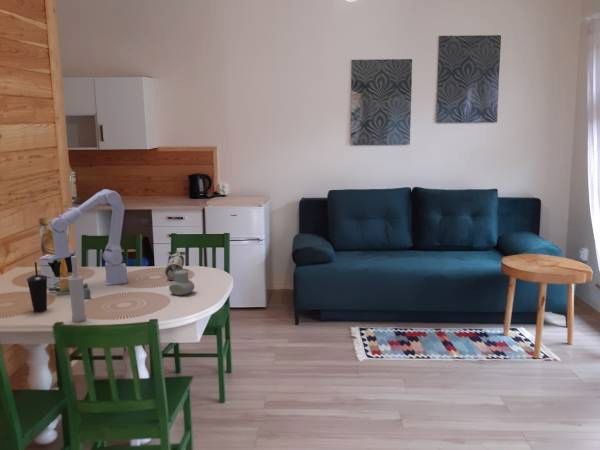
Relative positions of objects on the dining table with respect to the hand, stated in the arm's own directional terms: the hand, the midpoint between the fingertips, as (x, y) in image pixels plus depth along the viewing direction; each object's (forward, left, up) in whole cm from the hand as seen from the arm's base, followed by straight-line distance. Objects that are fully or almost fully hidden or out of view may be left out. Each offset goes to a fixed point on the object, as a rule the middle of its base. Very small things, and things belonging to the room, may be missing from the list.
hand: (63, 274), depth 249 cm
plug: (+3, -1, -8) cm, 8 cm away
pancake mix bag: (+2, -35, -8) cm, 36 cm away
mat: (0, 0, -8) cm, 8 cm away
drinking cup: (+11, +22, -8) cm, 26 cm away
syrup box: (+5, -13, -8) cm, 16 cm away
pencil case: (-51, -4, -8) cm, 52 cm away
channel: (-6, +10, -8) cm, 14 cm away
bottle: (-2, +41, -8) cm, 42 cm away
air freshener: (-46, +27, -8) cm, 54 cm away
